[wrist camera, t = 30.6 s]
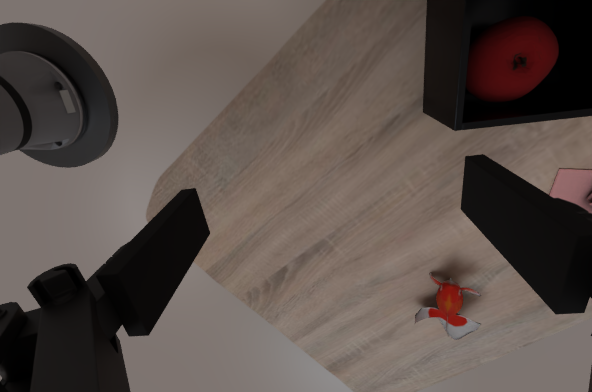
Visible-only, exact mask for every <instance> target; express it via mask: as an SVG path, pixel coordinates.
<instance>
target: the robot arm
mask: <svg viewBox="0 0 592 392" xmlns="http://www.w3.org/2000/svg"><path fill="white" fill-rule="evenodd" d="M87 120H88V114H87V107H86V103H85V100H84V97H83V95H82V93H81V91H80V89H79V87H78V85H77V84H76V82H75V81H74V80H73V78H72V77H71V76H70V75H69V74H68V73H67V72H66V71H65V70H64V69H63V68H62V67H61V66H60V65H59V64H57V63H56V62H54V61H53V60H51V59H49V58H48V57H46V56H43V55H41V54H38V53H34V52H28V51H11V52H6V53H2V54H0V155H2V154H5V153H8V152H11V151H14V150H18V149H35V150H53V149H60V148H64V147H66V146H69V145H72V144H74V143H75V142H77V141H78V140H79V139H80V138H81V137H82V135H83V134H84V132H85V130H86V126H87ZM461 210H462V211H463V212H464V213H465V214H466V216H467V217H468V218H469V219H470V220H471V221H472V222H473V223H474V224H475V226H476V227H477V228H478V229H479V230H480V231H481V232H482V233H483V234H484V235H485V237H486V238H487V239H488V240H489V241H490V242H491V243H492V244H493V245H494V247H495V248H496V249H497V250H498V251H499V252H500V253H501V254H502V255H503V257H504V258H505V259H506V260H507V261H508V262H509V263H510V264H511V265H512V266H513V268H514V269H515V270H516V271H517V272H518V273H519V274H520V275H521V276H522V278H523V279H524V280H525V281H526V282H527V283H528V284H529V285H530V286H531V287H532V289H533V290H534V291H535V292H536V293H537V294H538V295H539V296H540V297H541V299H542V300H543V301H544V302H545V303H546V304H547V305H548V306H549V307H550V309H551V310H552V311H553V312H554V313H555V314H571V313H584V312H585V309H586V306H587V303H588V300H589V298H590V297H591V298H592V213H589V212H588V211H587V210H585V209H584V208H582V207H580V206H579V205H577V204H575V203H572V202H569V201H566V200H563V199H560V198H553V197H551V196H550V195H548V194H546V193H545V192H543V191H541V190H540V189H538V188H537V187H535V186H533V185H532V184H530V183H529V182H527V181H525V180H524V179H522V178H521V177H519V176H517V175H516V174H514V173H512V172H511V171H509V170H508V169H506V168H504V167H503V166H501V165H500V164H498V163H496V162H495V161H493V160H492V159H490V158H488V157H487V156H485V155H483V154H482V155H474V156H465V167H464V178H463V189H462V201H461ZM209 235H210V231H209V228H208V225H207V222H206V219H205V216H204V213H203V209H202V206H201V203H200V200H199V197H198V194H197V191H196V188H193V189H185V190H181V191H180V192H179V193H178V194H177V195H176V196H175V197H174V198H173V199H172V200H171V201H170V202H169V203H168V204H167V205H166V206H165V207H164V208H163V209H162V210H161V211H160V212H159V213H158V214H157V215H156V216H155V217H154V218H153V219H152V220H151V221H150V222H149V223H148V224H147V225H146V226H145V227H144V228H143V229H142V230H141V231H140V232H139V233H138V234H137V235H136V236H135V237H134V238H133V239H132V240H131V241H130V242H128V243H127V244H125V245H124V246H122V247H120V249H118V251H116V252H115V253H114V254H113V255H112V256H113V257H110V258H109V259H108V260H107V261H106V264H103V265H102V266H101V267H100V268H99V269H98V270H97V271H96V272H95V273H94V274H93V275H92V276H91V277H90V278H89V279H88V280H87V281H85V279H84V278H83V276H82V274H81V272H80V271H79V269H78V267H77V266H76V264H71V263H70V264H63V265H60V266H57V267H54V268H52V269H50V270H48V271H46V272H44V273H42V274H41V275H39V276H37V277H36V278H35V279H34V280H33V281H31V282H30V284H29V285H28V287H27V288H28V289H29V291H30V292H31V293H32V295H33V297H34V298H35V299H36V301H37V302H38V304H39V305H40V307H41V308H39V309H35V310H32V311H28V312H24V311H23V310H22V309H21V307H20V306H19V305H18V303H16V302H10V303H5V304H2V305H0V375H1V376H2V380H1V382H0V392H130V388H129V383H128V378H127V373H126V368H125V364H124V359H123V354H122V349H121V344H120V340H119V339H118V337H117V335H116V332H117V331H118V330H119V328H120V326H121V325H123V326H124V328H125V330H126V332H127V334H128V335H129V336H145V335H149V334H150V332H151V331H152V329H153V327H154V326H155V324H156V322H157V321H158V319H159V317H160V316H161V314H162V312H163V311H164V309H165V308H166V306H167V304H168V303H169V301H170V299H171V298H172V296H173V294H174V293H175V291H176V289H177V288H178V286H179V284H180V283H181V281H182V279H183V278H184V276H185V274H186V273H187V271H188V269H189V268H190V266H191V264H192V263H193V261H194V259H195V258H196V256H197V254H198V253H199V251H200V249H201V248H202V246H203V244H204V243H205V241H206V240H207V238H208V236H209ZM591 336H592V334H591ZM588 392H592V367H591V375H590V383H589V391H588Z"/></svg>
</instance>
